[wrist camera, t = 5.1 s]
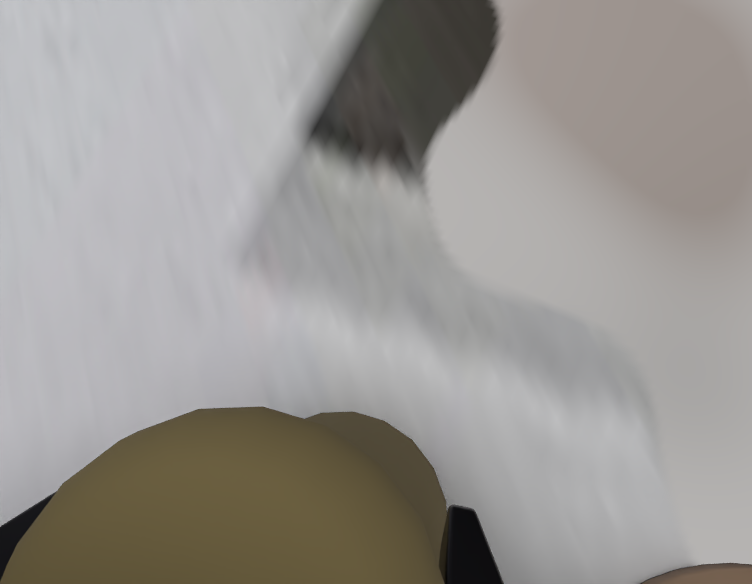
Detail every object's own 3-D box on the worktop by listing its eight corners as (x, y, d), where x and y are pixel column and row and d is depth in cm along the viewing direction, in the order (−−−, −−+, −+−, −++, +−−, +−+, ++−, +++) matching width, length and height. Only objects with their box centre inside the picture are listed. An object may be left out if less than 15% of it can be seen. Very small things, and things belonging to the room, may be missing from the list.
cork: (192, 577, 15) (-302, 871, 5) (292, 376, 17) (72, 263, 6) (392, 691, 14) (315, 1384, 4) (482, 468, 16) (616, 524, 5)
